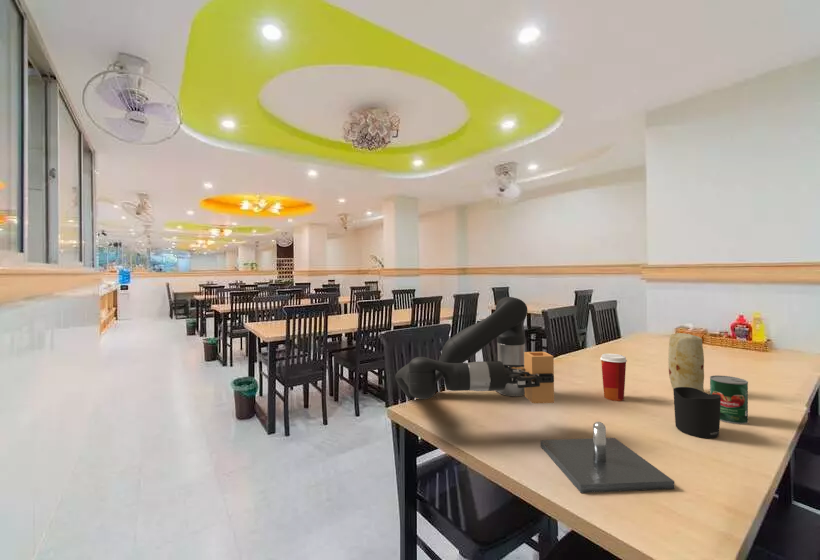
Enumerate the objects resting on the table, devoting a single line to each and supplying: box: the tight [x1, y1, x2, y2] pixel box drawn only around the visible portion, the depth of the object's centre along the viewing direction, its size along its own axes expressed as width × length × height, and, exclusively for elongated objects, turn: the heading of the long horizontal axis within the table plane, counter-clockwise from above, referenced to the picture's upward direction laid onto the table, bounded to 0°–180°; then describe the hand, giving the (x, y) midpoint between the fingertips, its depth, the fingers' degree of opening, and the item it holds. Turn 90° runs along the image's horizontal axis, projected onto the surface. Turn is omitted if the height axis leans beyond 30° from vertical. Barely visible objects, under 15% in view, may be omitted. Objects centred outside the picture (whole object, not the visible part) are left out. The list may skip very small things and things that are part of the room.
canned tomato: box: [709, 374, 749, 425], centre depth 98 cm, size 8×8×11 cm
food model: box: [667, 332, 705, 392], centre depth 120 cm, size 10×7×20 cm
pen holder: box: [672, 387, 721, 439], centre depth 90 cm, size 9×9×10 cm
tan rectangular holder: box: [524, 351, 555, 404], centre depth 93 cm, size 6×6×12 cm
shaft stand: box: [540, 421, 675, 494], centre depth 75 cm, size 18×18×9 cm
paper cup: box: [599, 353, 628, 402], centre depth 115 cm, size 8×8×14 cm
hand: (548, 374), depth 93 cm, fingers closed on tan rectangular holder, 5 cm apart
